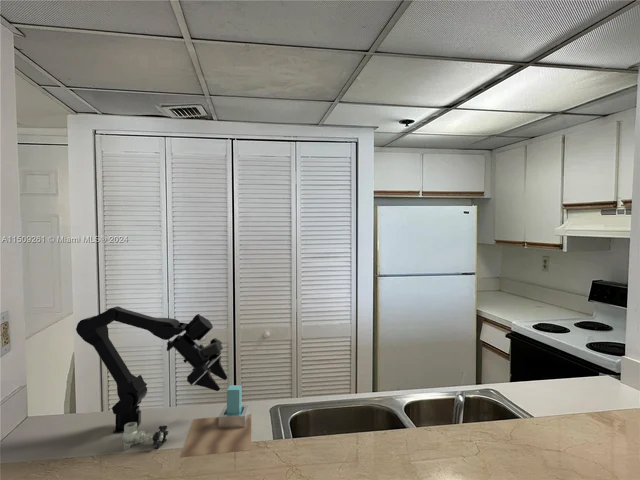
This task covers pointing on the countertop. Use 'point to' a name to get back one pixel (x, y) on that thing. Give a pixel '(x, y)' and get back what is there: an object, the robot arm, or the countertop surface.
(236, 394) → the block
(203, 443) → the board
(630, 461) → the countertop surface
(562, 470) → the countertop surface
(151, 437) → the valve
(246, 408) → the collar
